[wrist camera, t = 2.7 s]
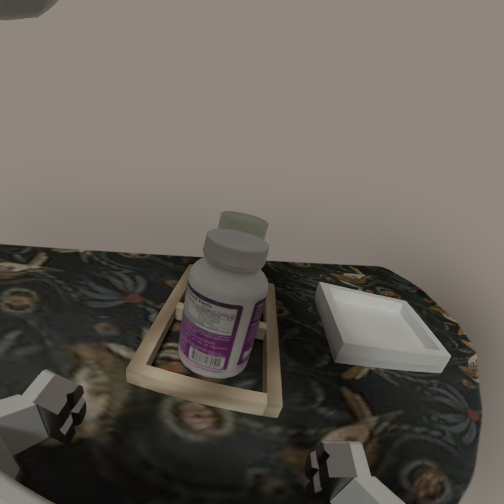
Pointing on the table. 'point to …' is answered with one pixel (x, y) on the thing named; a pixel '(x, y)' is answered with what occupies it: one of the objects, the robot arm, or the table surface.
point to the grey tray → (377, 331)
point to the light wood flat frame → (208, 391)
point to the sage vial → (243, 223)
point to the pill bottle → (223, 304)
